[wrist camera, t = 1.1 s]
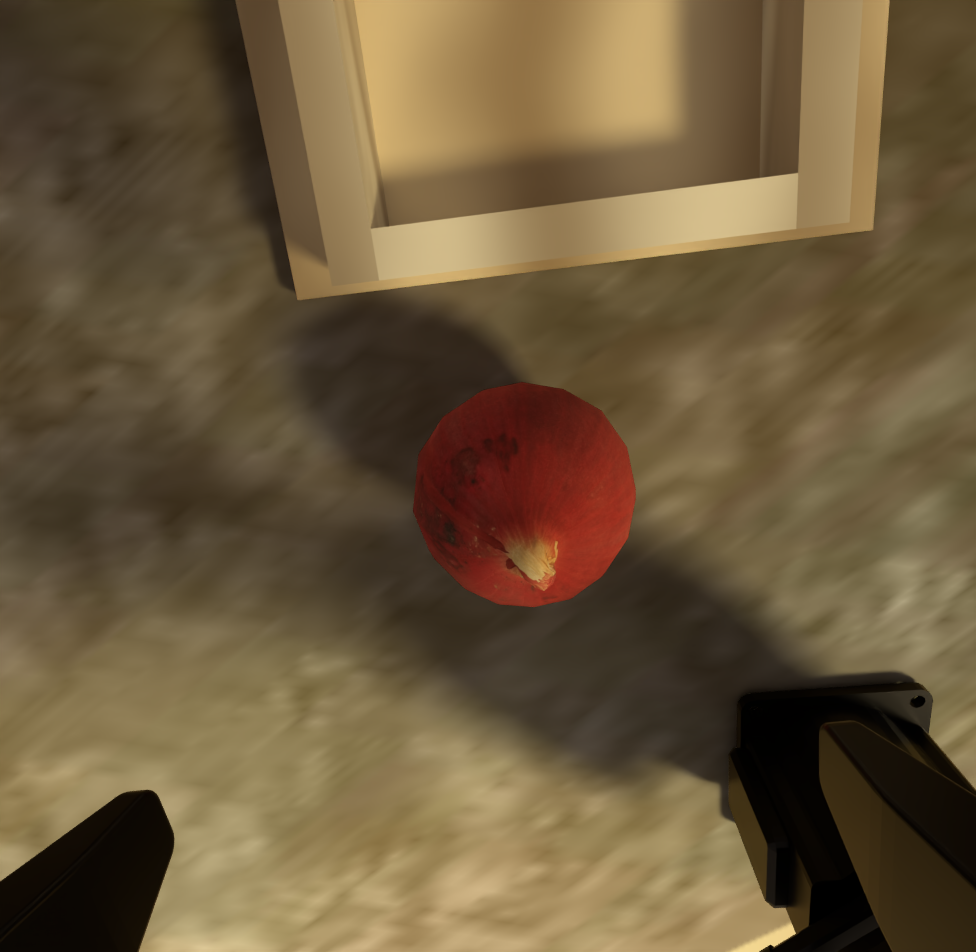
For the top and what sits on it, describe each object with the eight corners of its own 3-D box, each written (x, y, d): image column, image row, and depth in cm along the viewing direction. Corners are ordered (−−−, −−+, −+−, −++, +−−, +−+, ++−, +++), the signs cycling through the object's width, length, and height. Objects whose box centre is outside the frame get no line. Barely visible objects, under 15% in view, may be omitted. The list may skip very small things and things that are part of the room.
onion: (425, 522, 22) (374, 668, 14) (441, 351, 20) (392, 412, 12) (597, 544, 21) (639, 701, 14) (629, 374, 20) (698, 451, 12)
